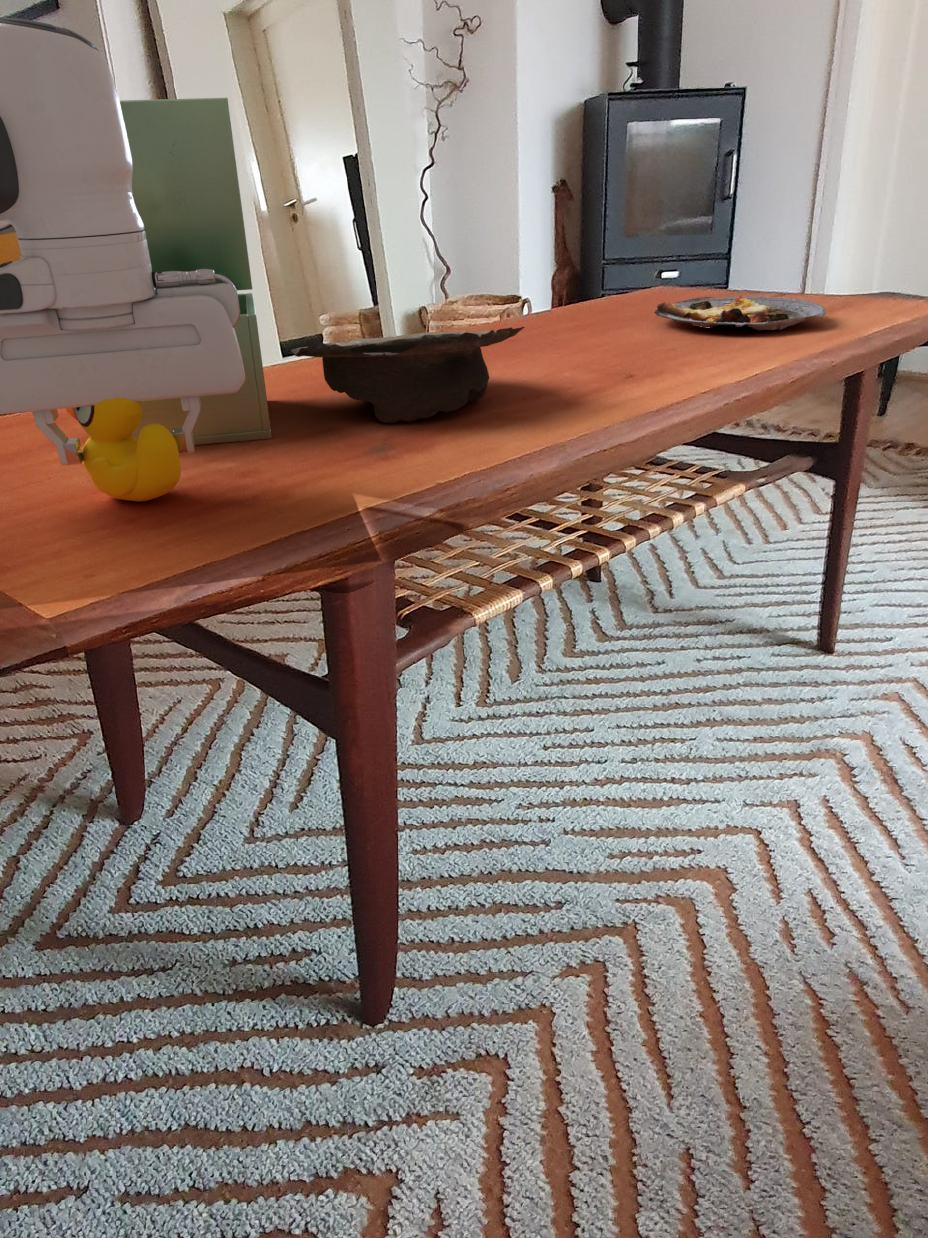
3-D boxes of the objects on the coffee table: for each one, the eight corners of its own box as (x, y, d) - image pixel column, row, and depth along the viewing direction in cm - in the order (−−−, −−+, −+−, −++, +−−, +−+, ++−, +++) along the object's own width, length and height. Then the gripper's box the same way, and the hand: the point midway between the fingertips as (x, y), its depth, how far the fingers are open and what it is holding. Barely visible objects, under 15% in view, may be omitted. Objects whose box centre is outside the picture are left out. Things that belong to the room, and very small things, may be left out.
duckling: (58, 497, 78) (29, 376, 73) (110, 479, 82) (86, 363, 77) (154, 517, 72) (128, 387, 68) (204, 497, 76) (183, 373, 72)
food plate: (719, 342, 130) (721, 316, 128) (625, 322, 149) (626, 299, 147) (855, 324, 139) (858, 300, 137) (750, 307, 158) (752, 285, 156)
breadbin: (271, 438, 92) (255, 314, 87) (107, 453, 90) (81, 325, 84) (266, 399, 108) (252, 292, 103) (126, 411, 105) (104, 302, 100)
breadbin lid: (227, 98, 91) (227, 92, 95) (60, 102, 89) (66, 96, 92) (252, 289, 102) (250, 277, 106) (103, 298, 99) (107, 286, 103)
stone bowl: (442, 441, 88) (430, 340, 84) (253, 431, 101) (235, 344, 97) (563, 384, 106) (558, 299, 102) (390, 383, 120) (379, 307, 116)
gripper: (233, 263, 74) (258, 434, 80) (-43, 281, 70) (5, 460, 77) (233, 270, 68) (260, 454, 75) (-67, 291, 65) (-13, 482, 71)
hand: (129, 457), depth 75 cm, fingers closed on duckling, 7 cm apart
